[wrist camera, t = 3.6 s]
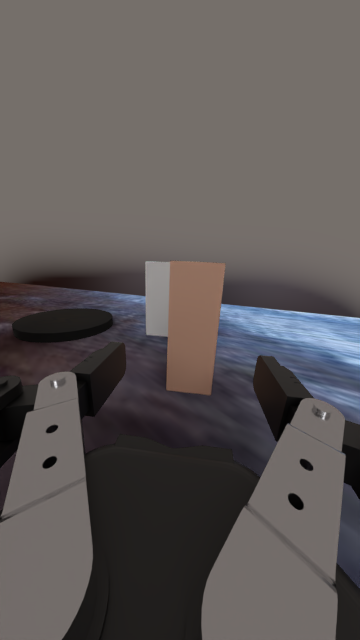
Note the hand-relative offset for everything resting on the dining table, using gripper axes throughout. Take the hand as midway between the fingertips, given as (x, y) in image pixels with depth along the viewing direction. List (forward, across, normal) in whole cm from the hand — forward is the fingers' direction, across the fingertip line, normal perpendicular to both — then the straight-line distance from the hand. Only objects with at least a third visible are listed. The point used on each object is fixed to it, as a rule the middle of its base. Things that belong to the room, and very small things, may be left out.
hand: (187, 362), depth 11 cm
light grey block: (+26, +7, +8) cm, 28 cm away
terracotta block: (+10, 0, +8) cm, 13 cm away
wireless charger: (+25, +27, +9) cm, 38 cm away
